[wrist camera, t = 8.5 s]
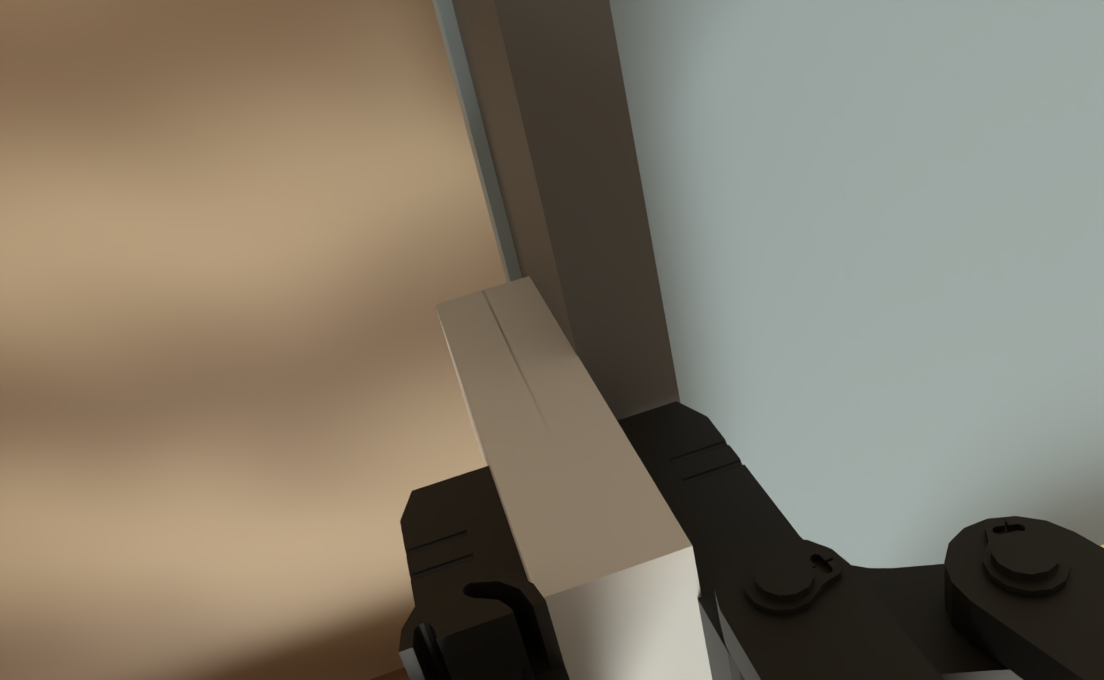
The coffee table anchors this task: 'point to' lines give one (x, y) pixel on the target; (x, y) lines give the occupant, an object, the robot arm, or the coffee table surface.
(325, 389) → the brown wooden frame
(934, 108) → the lid
